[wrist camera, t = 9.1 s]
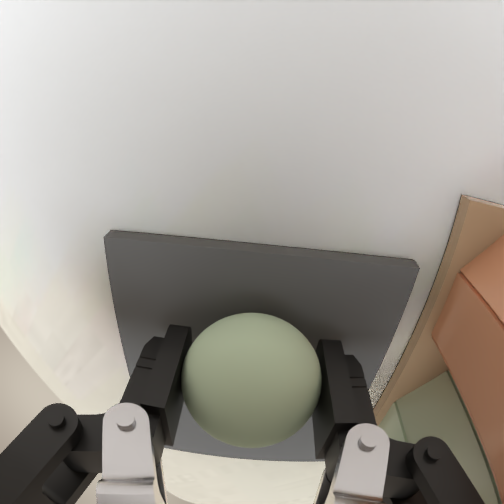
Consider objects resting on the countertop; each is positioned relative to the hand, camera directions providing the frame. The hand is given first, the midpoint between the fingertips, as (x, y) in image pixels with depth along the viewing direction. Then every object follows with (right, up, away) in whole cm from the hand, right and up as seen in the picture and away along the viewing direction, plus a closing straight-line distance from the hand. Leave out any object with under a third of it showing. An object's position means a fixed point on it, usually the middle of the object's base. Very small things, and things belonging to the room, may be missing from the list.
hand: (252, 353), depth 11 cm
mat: (0, -2, +3) cm, 4 cm away
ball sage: (0, 0, +1) cm, 1 cm away
